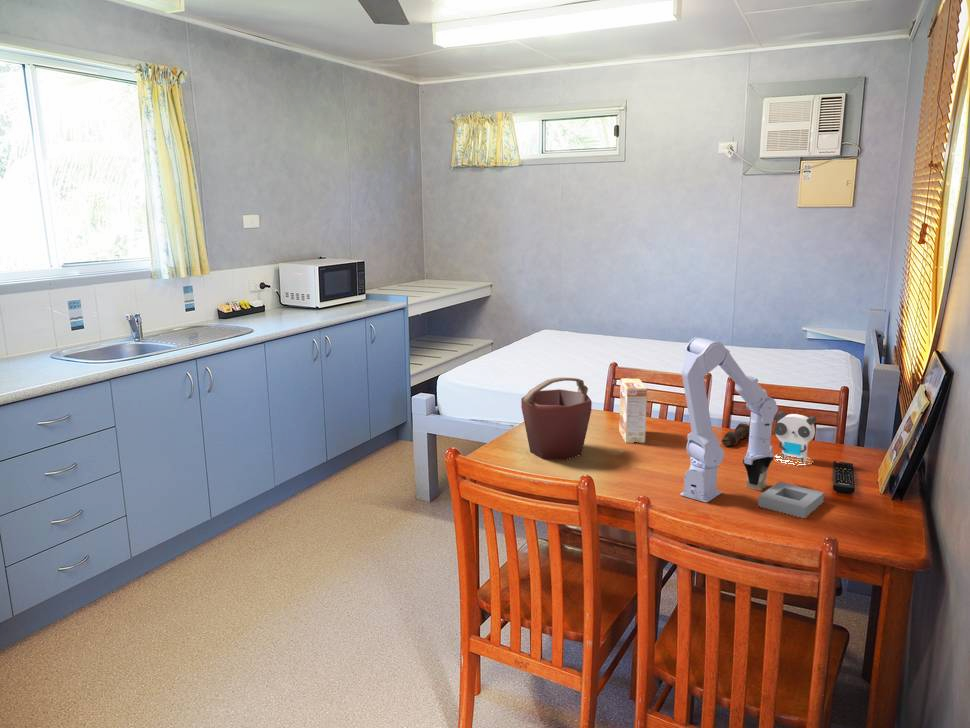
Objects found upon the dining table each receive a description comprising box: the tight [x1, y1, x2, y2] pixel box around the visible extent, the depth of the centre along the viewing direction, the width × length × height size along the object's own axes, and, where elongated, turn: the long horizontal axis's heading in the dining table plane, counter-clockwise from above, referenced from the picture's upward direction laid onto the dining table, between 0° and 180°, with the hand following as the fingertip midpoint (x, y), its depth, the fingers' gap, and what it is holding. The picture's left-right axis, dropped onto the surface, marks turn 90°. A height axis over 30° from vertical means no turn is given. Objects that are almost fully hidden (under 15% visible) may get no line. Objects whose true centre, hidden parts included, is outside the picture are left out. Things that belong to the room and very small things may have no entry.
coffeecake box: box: [618, 377, 648, 444], centre depth 248 cm, size 15×7×20 cm, turn 178°
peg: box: [746, 466, 768, 491], centre depth 202 cm, size 4×4×6 cm
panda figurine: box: [774, 411, 817, 467], centre depth 223 cm, size 12×11×15 cm
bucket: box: [520, 376, 593, 461], centre depth 231 cm, size 24×22×25 cm
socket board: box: [757, 481, 825, 519], centre depth 190 cm, size 14×12×3 cm
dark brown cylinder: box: [721, 422, 750, 447], centre depth 242 cm, size 6×5×15 cm
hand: (756, 481), depth 202 cm, fingers closed on peg, 4 cm apart
